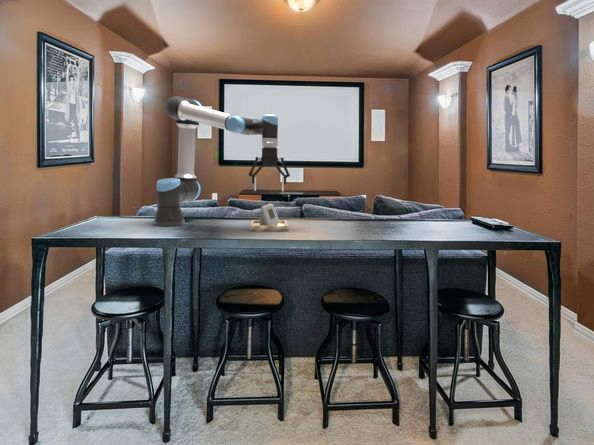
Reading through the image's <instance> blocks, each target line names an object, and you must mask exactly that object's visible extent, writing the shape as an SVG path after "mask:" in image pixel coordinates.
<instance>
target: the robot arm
mask: <svg viewBox="0 0 594 445" xmlns="http://www.w3.org/2000/svg"><path fill="white" fill-rule="evenodd" d="M164 109H165V113H166V114H167V115H168V117H170V118H171V119H173V120H175V124H176V126H177V127H178V147H177V148H178V149H177V152H178V153H177V154H178V155H177V158H178V159H177V173H176V174H175V175H174V177H168V178H160V179H158V180H157V181H156V188H155V189H156V209H157V210H156V212H155V216H154V219H153V225H154V226H159V227H175V226H183V225H185V218H184V216H183V212H182V209H181V208H182V206H181V205H182V204H181V203H185V202H187V203H188V202H192V201H195V200H196V199H198V197H199V196H200V194H201V185H200V184H199V182H198V177H197V176H196V175H195V162H196V161H195V160H196V158H195V157H196V132H197V128H198V127H199V126H200V124H203V125H207V126H211V127H214V128H218V129H221V130H225V131H229V132H231V133H233V134H241V135H245V136H250V135H251V136H253V135H254V136H256V135H257V136H258V135H259V136H261V146H262V148H261V157H258V156H256V157H255V159H254V160H255V161H254V162H253V165H252V167H251V168H250V170H249V172H248V176H250V177H251V183H252V184H253V185H254V192H255V191H257V177H256V175H257V174H258V173H259V172H260V171H261V170H262V169H263V167H272V168H273V167H275V168H276V170H278V172H279V173H280V174H281V176H282V178H281V191H282V192H285V191H284V190H285V189H284V188H285V186H284V185H287V178H290V177H291V174H290V172H289V171H288V168H287V166H286V163H285V160H284V157H278V148H277V147H278V142H279V141H278V130H279V121H278V120H279V117H278V115H276V114H270V113H269V114H268V113H266V114H263V115H262V117H261V118H259V119H258V118H256V119H255V118H247V117H242V116H238V115H234V114H230V113H226V112H222V111H219V110H215V109H212V108H207V107H204V106H202V104H201V103H200V102H199V101H197V100H196V99H192V98H188V97H183V96H175V95H174V96H172V97H169V98H168V99H167V101H166V102H165V108H164ZM260 161H261V162H262V164H261V165H260V166H259V167H258V169H256V171H255V172H254V170H255V168H256V166H257V164H258V162H260ZM277 162H279V163H280V164H282V165H281V166H282V167H283V169H284V171H285V173H284V171H283V170H282V169H281V168H280V166H279V165H278V164H277Z"/></svg>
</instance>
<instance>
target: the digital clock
mask: <svg viewBox="0 0 594 445" xmlns="http://www.w3.org/2000/svg"><path fill="white" fill-rule="evenodd" d="M260 212H261V214H262V215H261V216H260V217H259V220H260V226H276V225H277V224H278V223H279V220H280V219H279V216H278V214H277V211H276V208H275V204H274V203H268V204H265V205H263V206H261V207H260Z"/></svg>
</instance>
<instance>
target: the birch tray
mask: <svg viewBox="0 0 594 445" xmlns="http://www.w3.org/2000/svg"><path fill="white" fill-rule="evenodd" d="M249 228H250V232H289V224H288V221H287V220H286V219H285V220H284V219H283V220H281V219H279V223H278V224H277V225H276V226H260V219H258V220H257V219H251V223H250V227H249Z"/></svg>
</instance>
